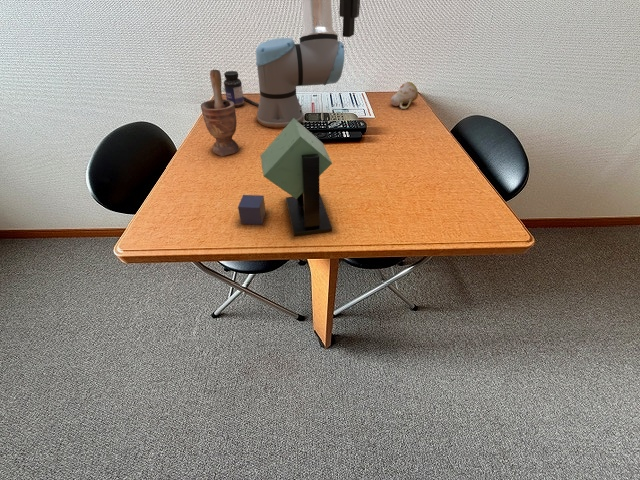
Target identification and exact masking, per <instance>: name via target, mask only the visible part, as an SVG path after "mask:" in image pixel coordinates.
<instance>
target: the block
mask: <svg viewBox="0 0 640 480" xmlns="http://www.w3.org/2000/svg"><path fill="white" fill-rule="evenodd" d="M237 210H238V214H239V219H240V224H241V225H257V226H262V225H263V223H264V220H265V217H266V213H267V209H266V202H265V195H260V194H259V195H257V194H254V195H253V194H242V196H241V199H240V201H239V204H238V206H237Z"/></svg>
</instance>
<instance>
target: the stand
mask: <svg viewBox="0 0 640 480" xmlns="http://www.w3.org/2000/svg"><path fill="white" fill-rule="evenodd" d="M302 180H303V193H302V194H301V195H300V196H299V197H298V198H297V199H295V198H294V197H293V196H287V197H285V203H286V206H287V211H288V215H289V220H290V226H291V230H292V234H293V237H300V236H309V235H317V234H325V233H332V232H333V226H332V224H331V221H330V218H329V215H328V212H327V209H326V207H325V204H324V201H323V199H322V196H321V194H320V176H319V155H318V154H310V155H302Z"/></svg>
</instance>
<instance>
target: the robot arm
mask: <svg viewBox="0 0 640 480" xmlns="http://www.w3.org/2000/svg"><path fill="white" fill-rule="evenodd" d="M301 3H302V4H301V7H302V19H303V32H302V33H301V35H300V36H299V43H295V40H294V39H293V38H291V37H280V38H279V37H277V38H273V39H269V40H266V41H263V42H261V43H260V44H258V45H257V47H256V49H255V59H256V60H255V65H256V67H257V77H258V78H257V79H258V87H259V102H258V103H257V102H255V101H253V100H251V99H249V98H247V97H245V96H243V98H244V101H245V102H248V103H250V104H251V105H254V106H256V107H258V108H257V113H256V118H257V122H258V124H260V125H261V126H264V127H267V128H273V129H282V128H283V129H284V128H285V127H286V126H287V125H288V124H289V123H290V122H291V120H292V119H293V118H294V119H296V120H297V121H298V122H299V123H300V124H301V123H302V122H303V119H304V115H303V109H302V104H300V101H299V98H298V95H297V87H306V86H322V85H323V86H327V85H333V84H336V83H338V82H339V81H340V79H341V77H342V74H343V70H344V65H345V45H344V43H343V41H339V37H338V33H337V32H336V31H335V30H334V29H333V12H332V0H301ZM338 8H339V11H338V13H339V17H340V18H342V37H343V38H350V37H352V36H354V35H355V22H356V18H358V17H359V16H360V10H361V0H339V7H338Z"/></svg>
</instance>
